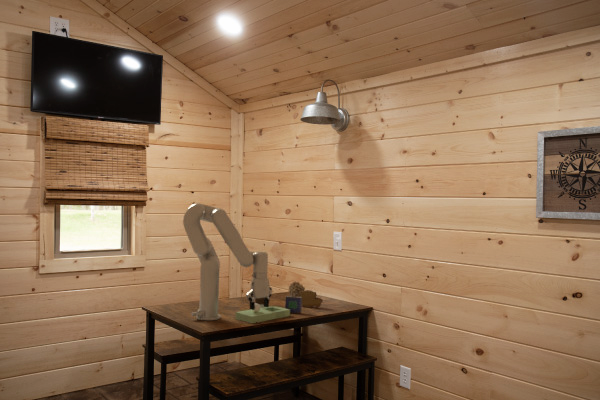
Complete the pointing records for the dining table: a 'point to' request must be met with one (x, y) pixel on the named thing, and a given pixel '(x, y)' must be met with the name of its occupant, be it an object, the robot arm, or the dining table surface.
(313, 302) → the wooden carving
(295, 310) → the blue box
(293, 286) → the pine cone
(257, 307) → the ball
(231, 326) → the dining table surface
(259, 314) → the green tray with wells
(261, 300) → the coffee cup
